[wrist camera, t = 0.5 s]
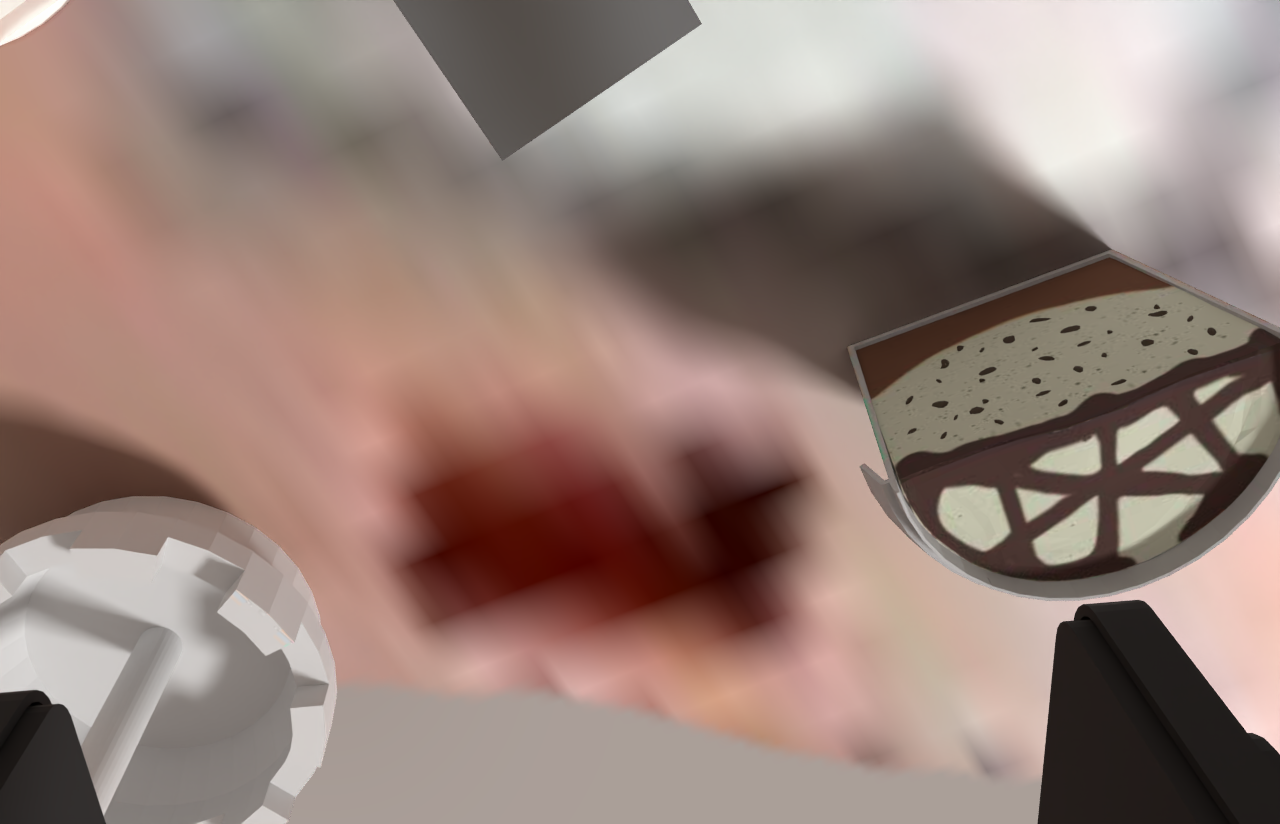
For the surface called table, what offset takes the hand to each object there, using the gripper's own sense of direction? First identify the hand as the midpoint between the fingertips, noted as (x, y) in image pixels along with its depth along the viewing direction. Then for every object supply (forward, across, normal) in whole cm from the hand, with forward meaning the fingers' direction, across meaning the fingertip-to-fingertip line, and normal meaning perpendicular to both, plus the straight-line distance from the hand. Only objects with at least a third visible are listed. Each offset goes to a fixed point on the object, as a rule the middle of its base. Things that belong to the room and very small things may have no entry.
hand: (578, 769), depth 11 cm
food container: (+29, -14, +9) cm, 34 cm away
